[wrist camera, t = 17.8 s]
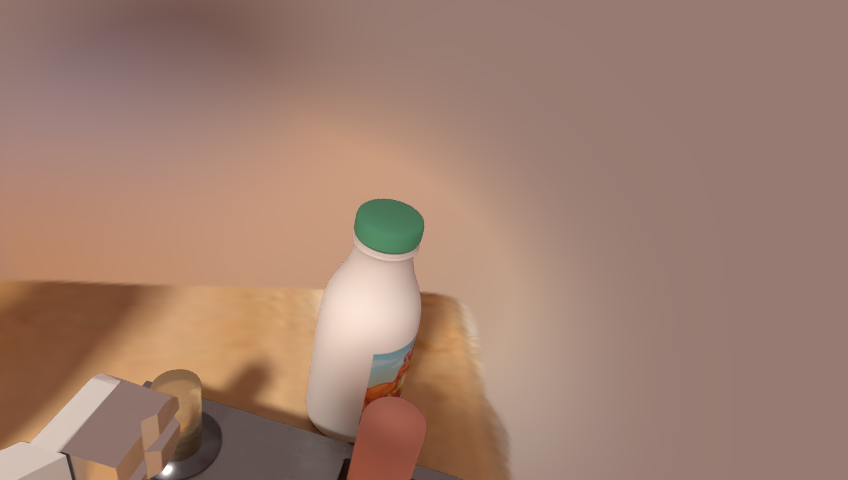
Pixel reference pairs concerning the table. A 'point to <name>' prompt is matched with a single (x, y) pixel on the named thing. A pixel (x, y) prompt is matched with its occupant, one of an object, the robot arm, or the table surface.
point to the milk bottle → (366, 320)
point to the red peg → (388, 440)
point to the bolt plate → (249, 443)
